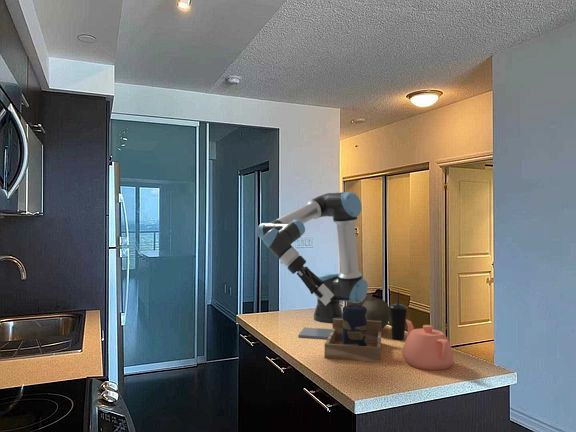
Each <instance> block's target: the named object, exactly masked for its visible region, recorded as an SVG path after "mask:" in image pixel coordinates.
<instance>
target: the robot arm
mask: <svg viewBox="0 0 576 432" xmlns="http://www.w3.org/2000/svg"><path fill="white" fill-rule="evenodd" d="M362 207H363V206H362V200H361V199H360V198H359V196H358V195H357V194H356V193H354V192H351V191H350V192H347V191H344V192H328V193H327V192H326V193H324V194H321V195H319V196H316V197H314V198H312V199H309V200H308V201H307V202H306V203H305V205H303V206H301V207H299V208H297V209H295V210H293V211H290V212H289V213H286V214H285V215H282V216H281V217H279V218H277V219H274V220H272V221H270V222H263V223H260V224H259V225H258V226H257V230H256V233H257V237H258V238H259V239H260V240H262V241H263V244H264V245H265V246H266V248H267V249H268V250H269V251H270V252H272V253H273V255H275V257H276V258H277V259H278V260H279V261H280V264H283V266H285V267H287V270H288V271H289V272H290V273H291V274H292V275H294V274H296V275H297V276H298V278H300V279H301V281H302V282H303V283H304V285H305V286H306V288H307V289H308V290H309V293H310V294H311V295H313V294H314V296H315V297H317V298H316V299H317V303H316V306H315V309H314V313H313V320H314V321H317V322H323V323H333V318H335V319H343V308H342V307H341V302H347V303H351V304H359V303H362V302H363V301H364V300H365V298H366V296H367V294H368V290H369V285H368V282H367V281H366V280H365V279H363V275H362V273H361V272H360V271H359V264H358V263H359V262H358V252H357V249H358V248H357V238H356V237H357V235H356V226H355V223H356V222H357V220H358V216H360V214H361V212H362ZM323 217H332V221H333V223H335V224H336V231H337V241H338V243H337V244H338V252H339V253H338V254H339V268H340V273H328V274H320V275H319V276H317V275H316V274H315V273H314V272H313V271H312V270H311V269H310V268H309V267H308V266H305V264H307V260H306V259H305V258H304V257H303V256H302V255H300V252H299V251H297V249H295V247H294V246H293V245H292V244H293V243H294V242H296V241H297V240H298V239H300V238H301V237H302V236H303V235H304V234H305V232H306V227H305V225H304V224H305V223H307V222H309V221H311V220H317V219H319V218H323Z"/></svg>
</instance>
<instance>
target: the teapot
mask: <svg viewBox="0 0 576 432" xmlns="http://www.w3.org/2000/svg"><path fill="white" fill-rule="evenodd" d="M405 320H406V324H407V325H406V326H407V334H406V339H405V341H404V344H403V348H402V356H403V358H404V360H405V361H406V362H407V364H408V365H410V366H411V367H414V368H417V369H420V370H426V371H440V370H441V371H442V370H447V369H449V368H450V367H452V365H453V364H454V362H455V357H454V351H453V347H452V345H451V342H450V341H449V339H448V338H447V336H446V334H445V333H444V332H443V331H441V330H438V329H434V326H433V325H430V324H423V325H422V327H421V328H415V327H414V325H413V322H412V321H411V320H409V319H407V318H406V319H405Z"/></svg>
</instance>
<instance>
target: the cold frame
mask: <svg viewBox="0 0 576 432" xmlns="http://www.w3.org/2000/svg"><path fill="white" fill-rule="evenodd" d="M331 329H332V331H331V333H330V335H329V337H328V339H326V341H325V343H324V352H323V353H324V356H323V357H324V359H332V360H333V359H335V360H343V361H345V360H346V361H357V362H358V361H359V362H372V363H381V356H382V329H381V321H369V320H367V344H376V346H368V345H367V346H354V345H343V344H339V343H335V342H343V319H335V318H333V322H332V328H331Z"/></svg>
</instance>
